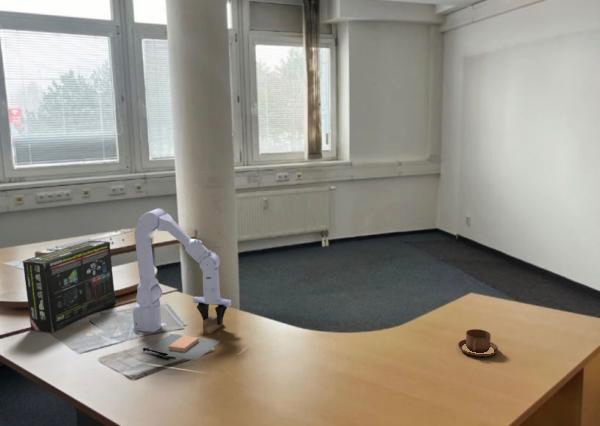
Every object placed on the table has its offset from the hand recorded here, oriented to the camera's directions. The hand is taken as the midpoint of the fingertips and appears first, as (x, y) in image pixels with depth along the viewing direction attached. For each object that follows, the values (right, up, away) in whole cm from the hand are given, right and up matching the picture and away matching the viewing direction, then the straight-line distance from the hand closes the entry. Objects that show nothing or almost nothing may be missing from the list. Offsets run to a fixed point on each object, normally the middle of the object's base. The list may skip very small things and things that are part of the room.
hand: (213, 323), depth 190 cm
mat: (-8, -5, -15) cm, 17 cm away
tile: (-6, -3, -10) cm, 12 cm away
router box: (-57, -1, +18) cm, 60 cm away
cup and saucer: (+88, -5, -22) cm, 91 cm away
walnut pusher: (0, -3, 0) cm, 3 cm away
